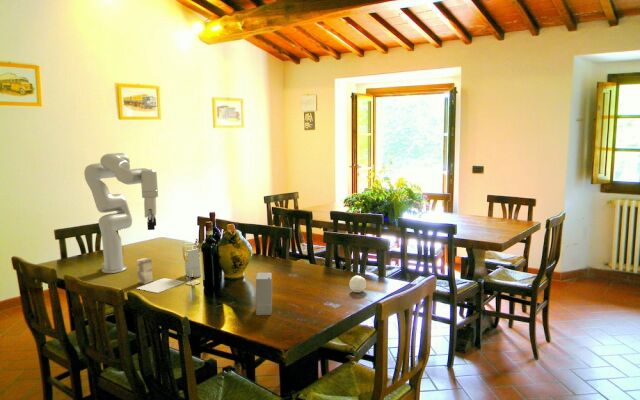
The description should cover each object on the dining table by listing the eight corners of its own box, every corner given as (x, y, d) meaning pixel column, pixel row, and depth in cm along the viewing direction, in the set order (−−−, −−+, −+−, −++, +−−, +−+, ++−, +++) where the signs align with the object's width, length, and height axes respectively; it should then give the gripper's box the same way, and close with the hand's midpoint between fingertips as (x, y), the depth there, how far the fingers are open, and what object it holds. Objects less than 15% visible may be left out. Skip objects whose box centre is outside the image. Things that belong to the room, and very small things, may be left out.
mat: (135, 288, 230) (135, 288, 230) (164, 278, 246) (164, 277, 246) (157, 293, 223) (157, 292, 223) (185, 282, 239) (185, 281, 239)
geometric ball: (353, 298, 218) (343, 284, 218) (361, 287, 224) (351, 274, 224) (364, 293, 213) (353, 280, 213) (372, 283, 219) (361, 269, 218)
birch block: (138, 283, 239) (136, 260, 237) (146, 280, 243) (144, 257, 241) (145, 284, 236) (143, 261, 235) (153, 281, 241) (151, 258, 239)
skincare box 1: (201, 276, 248) (199, 249, 245) (189, 278, 244) (188, 250, 242) (195, 272, 254) (194, 246, 252) (184, 275, 251) (183, 247, 249)
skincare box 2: (256, 308, 201) (255, 272, 199) (273, 307, 202) (272, 271, 199) (255, 316, 193) (254, 278, 190) (273, 315, 193) (271, 277, 191)
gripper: (143, 192, 243) (145, 224, 246) (140, 197, 227) (142, 231, 229) (159, 191, 245) (161, 224, 248) (156, 196, 229) (158, 230, 231)
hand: (152, 227), depth 239 cm, fingers open, 9 cm apart
